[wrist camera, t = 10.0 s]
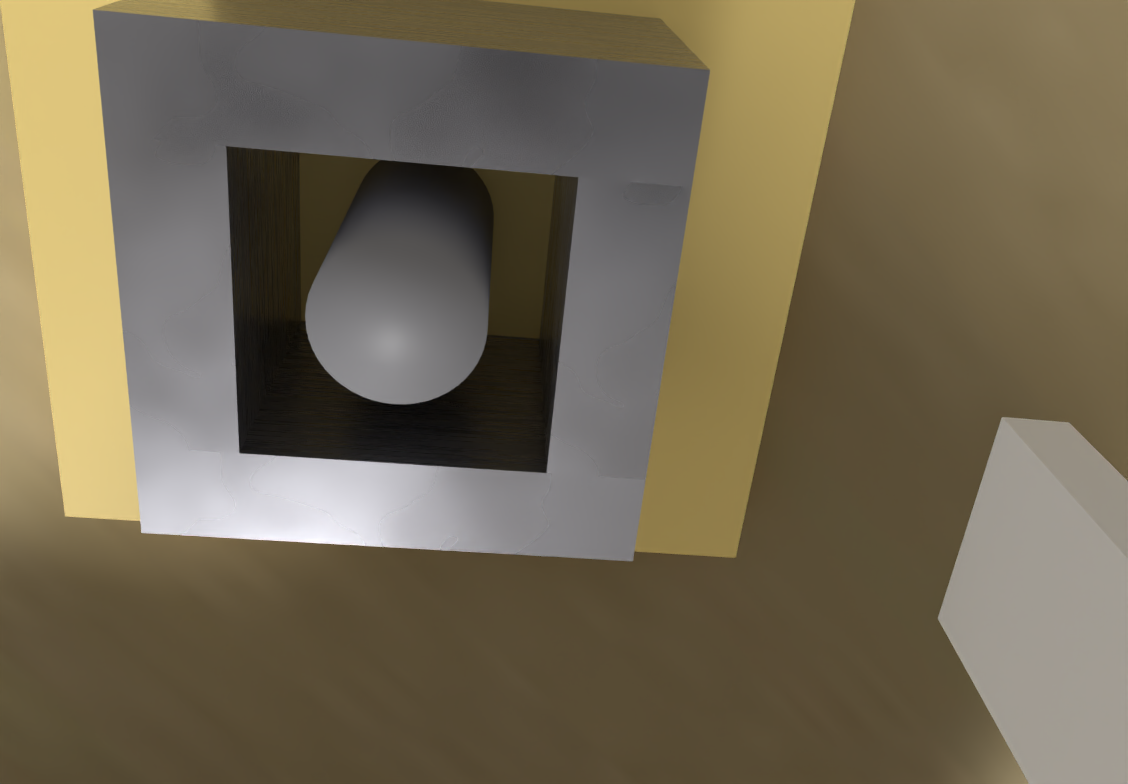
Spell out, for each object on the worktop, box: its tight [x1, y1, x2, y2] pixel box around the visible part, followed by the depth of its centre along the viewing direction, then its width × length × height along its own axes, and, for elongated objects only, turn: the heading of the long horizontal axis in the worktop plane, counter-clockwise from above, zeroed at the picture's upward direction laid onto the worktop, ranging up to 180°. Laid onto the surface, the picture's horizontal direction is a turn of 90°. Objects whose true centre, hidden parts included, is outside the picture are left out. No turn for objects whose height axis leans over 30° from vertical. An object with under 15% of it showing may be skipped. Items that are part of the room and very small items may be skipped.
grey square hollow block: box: [93, 0, 710, 561], centre depth 17 cm, size 8×8×5 cm
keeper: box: [0, 0, 855, 558], centre depth 17 cm, size 14×14×6 cm
